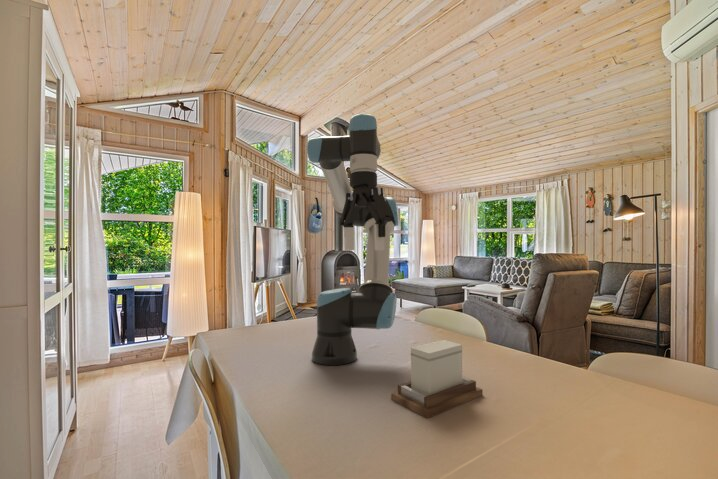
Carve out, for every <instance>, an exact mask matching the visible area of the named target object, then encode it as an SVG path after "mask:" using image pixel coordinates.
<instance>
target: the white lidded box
mask: <svg viewBox="0 0 718 479" xmlns="http://www.w3.org/2000/svg"><path fill="white" fill-rule="evenodd" d="M462 376H463V344H460V343H456V342H454V341H449V340H445V339H440V340H437V341H433V342H428V343H424V344H420V345H416V346H413V347H410V381H411V388H412V389H414V390H416V391H418V392H420V393H423V394H425V395H427V396H429V395H431V394H434V393H437V392H440V391H442V390H445V389H448V388H451V387H453V386H456V385H459V384H462Z"/></svg>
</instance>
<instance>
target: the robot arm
mask: <svg viewBox="0 0 718 479" xmlns="http://www.w3.org/2000/svg"><path fill="white" fill-rule="evenodd" d="M376 118H377V117H375V116H374V115H372V114H368V113H358V114H355V115H353V116H351V118H350V120H349V128H348V132H349V134H348V135H343V136H342V135H338V136H317V137H313V138H312V137H311V138H310V139H308V141H307V145H306V153H307V157H308V159H309V160H308V161H309V162H311V163H315V164H318V163H319V166H320V168H321V170H322V173H323V176H324V179H325V181H326V184H327V186H328V187H327V188H328V189H329V191H330V195H331V197H332V199H333V200H332V206H333V210H334V212H335V213H336V215H337V216H338V217H339V218H340V221H339V225H340V226H343V228H344V250H345V251H355V227H358V228H359V227H360V228H361V227H364V229H365V230H366V231H367V241H366V242H367V243H366V256H365V267H364V268H365V269H364V278H363V283H362V284H361V285H360V286H359V288H358V292H353V291H352V289H351V288H349V287H346V288H345V287H343V288H334V289H329V290H324V291H321V292H320V293H319V294H318V295H317V297H316V298H317V300H316V303H317V304H316V330H317V332H316V339H315V341H314V344H313V349H312V352H311V359H312V362H314V363H316V364H318V365H324V366H341V365H347V364H352V363H353V362H355V361H356V360H357V356H358V354H357V353H358V352H357V348H356V345H355V342H354V339H353V335H352V329H367V330H370V329H373V330H383V329H384V330H385V329H386V330H387V329H391V328H392V327H393V325H394V323H395V318H396V311H397V301H398V300H397V294H396V293H394V292H393V288H392V287H391V286H390V285H389V278H390V275H389V273H390V251H391V246H390V245H391V233H393V231H394V230H395V227H398V225H399V217H398V216H399V215H398V207H397V202H396V199H395V198H394V197H390V196H387V197H386V196H384V188H383V187H381V186H378V174H377V171H378V159H379V158H380V156H381V152H382V150H381V143H380V141H379V137H378V133H377V132H378V126H377V119H376ZM344 162H349V171H350V174H349V177H348V174H347V169H346V166H345V163H344Z"/></svg>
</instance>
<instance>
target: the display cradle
mask: <svg viewBox="0 0 718 479" xmlns="http://www.w3.org/2000/svg"><path fill="white" fill-rule="evenodd" d="M390 394H391V397H390V399H391V401H394V402H396V403H397V404H400V406H403V407H405V408H406V409H410V411H413V412H414V413H417V414H419V415H420V416H422V417H424V418H426V419H428V418H432V417H433V416H436V415H438V414H441V413H444V412H446V411H449V410H450V409H452V408H455V407H458V406H461V405H462V404H463V405H464V404H465V403H468V402H470V401H472V400H474V399H477V398H480V397H482V396H483V394H484V393H483V388H481V387H478V386H477V381H476V380H475V379H470V378H468V377H465V376H463V375H462V384H459V385H456V386H453V387H451V388H448V389H445V390H442V391H440V392H437V393H434V394H431V395H429V396H427V395H425V394H423V393H420V392H418V391H416V390H414V389H412V388H411V380H409V381H406V382H403V383H400V384H397V391H394V392H391V393H390Z"/></svg>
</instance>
